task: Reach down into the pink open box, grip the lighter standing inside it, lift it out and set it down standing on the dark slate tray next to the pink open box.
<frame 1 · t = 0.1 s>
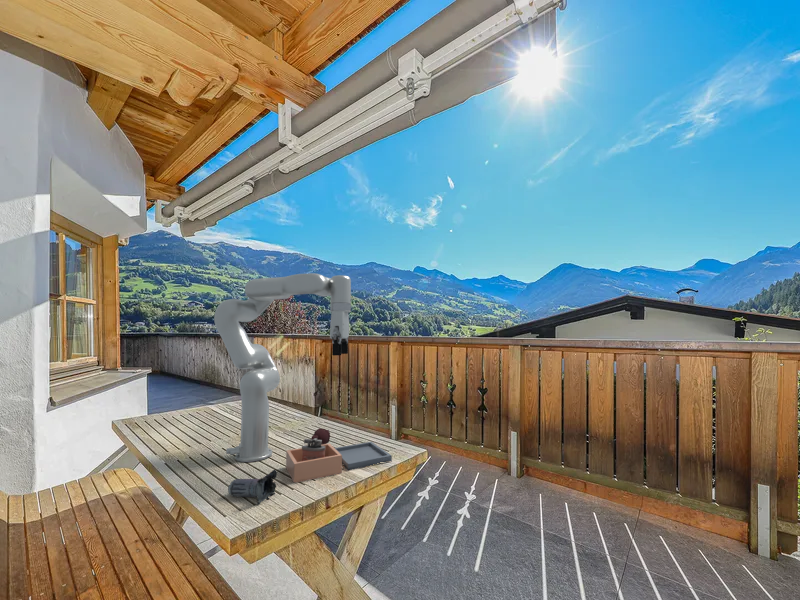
hand: (340, 354, 126), 37 cm above the table, tool pointing down, fingers open, 9 cm apart
dark piece: (250, 498, 94), on the table
icecream: (321, 446, 138), on the table
lighter: (313, 470, 112), resting in pink open box
tray: (360, 457, 123), on the table
pink open box: (313, 470, 112), on the table
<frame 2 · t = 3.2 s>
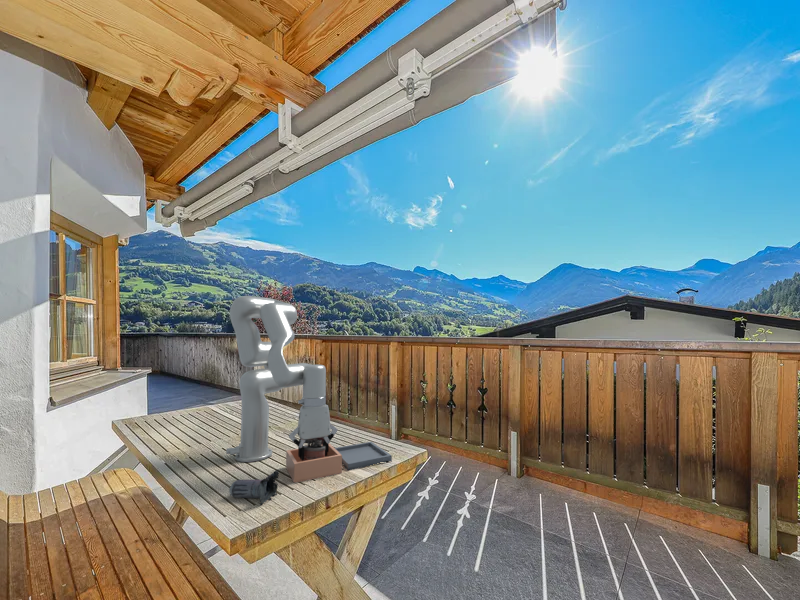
hand: (313, 456, 113), 4 cm above the table, tool pointing down, fingers closed on lighter, 7 cm apart
lighter: (313, 470, 112), resting in pink open box, touching gripper
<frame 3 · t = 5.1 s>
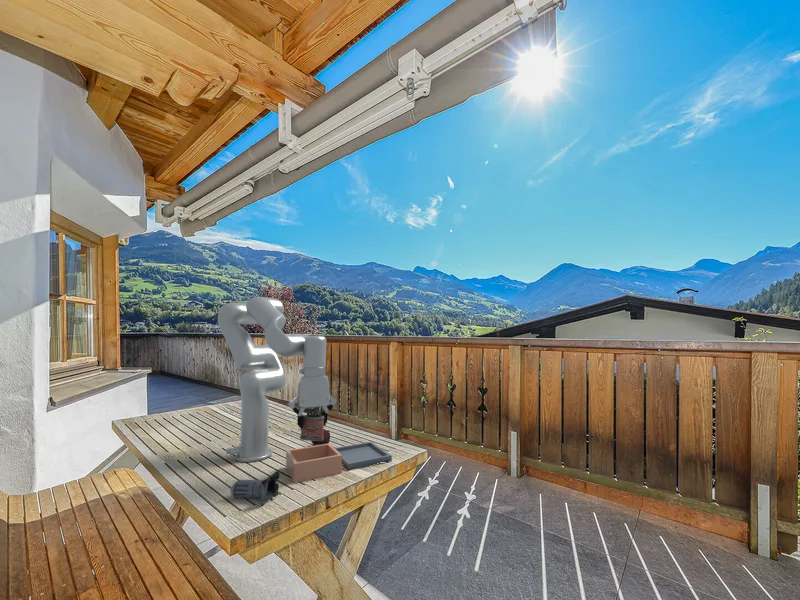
hand: (312, 425, 114), 14 cm above the table, tool pointing down, fingers closed on lighter, 7 cm apart
lighter: (311, 439, 114), point 10 cm above the table, touching gripper
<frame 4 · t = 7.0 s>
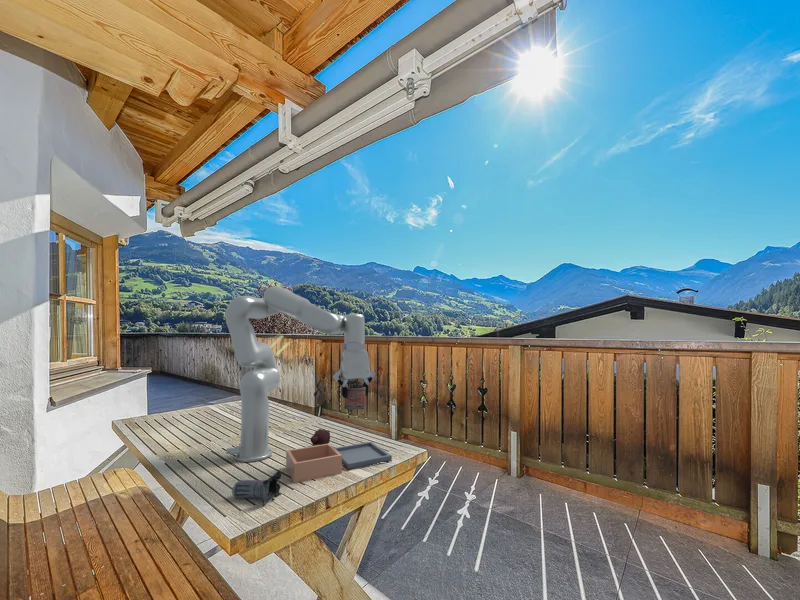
hand: (355, 396, 124), 22 cm above the table, tool pointing down, fingers closed on lighter, 7 cm apart
lighter: (355, 409, 124), point 18 cm above the table, touching gripper
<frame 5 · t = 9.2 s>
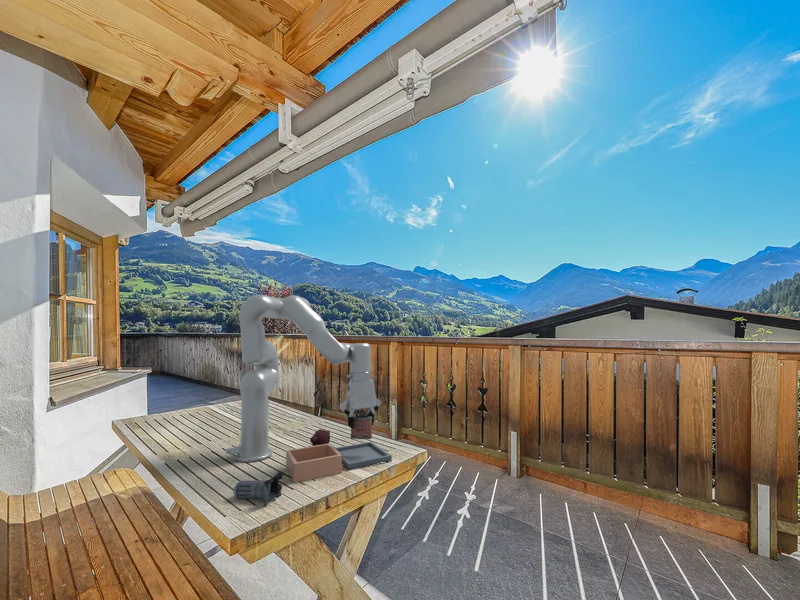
hand: (361, 425, 125), 11 cm above the table, tool pointing down, fingers closed on lighter, 7 cm apart
lighter: (361, 438, 124), point 7 cm above the table, touching gripper
when the fingers open (6 cm above the table, at t = 10.7 s): lighter drops 1 cm, resting on tray.
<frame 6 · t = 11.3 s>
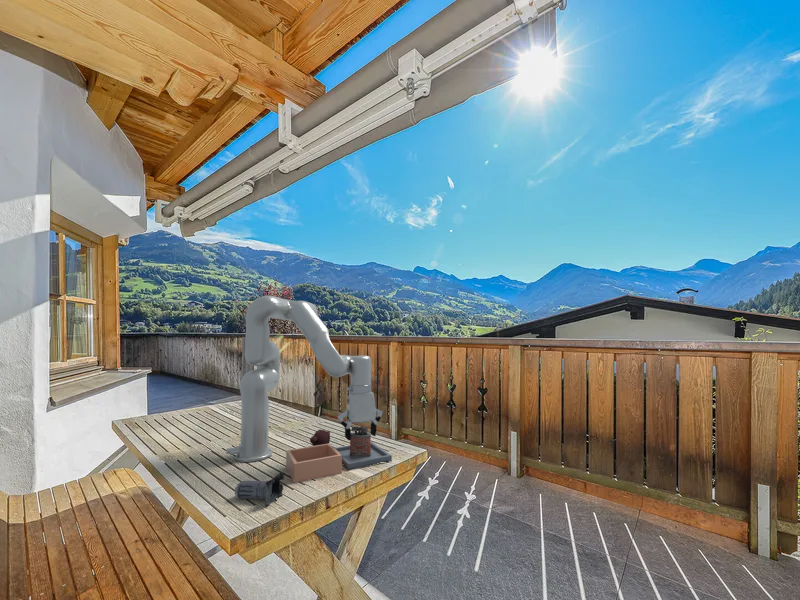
hand: (360, 437, 124), 7 cm above the table, tool pointing down, fingers open, 9 cm apart
lighter: (360, 455, 124), point 1 cm above the table, touching tray
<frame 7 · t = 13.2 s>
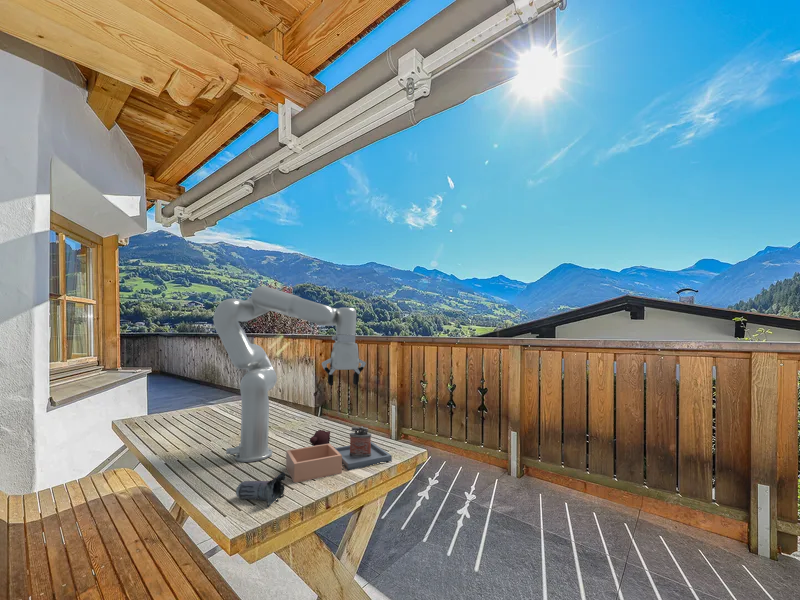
hand: (343, 384, 130), 25 cm above the table, tool pointing down, fingers open, 9 cm apart
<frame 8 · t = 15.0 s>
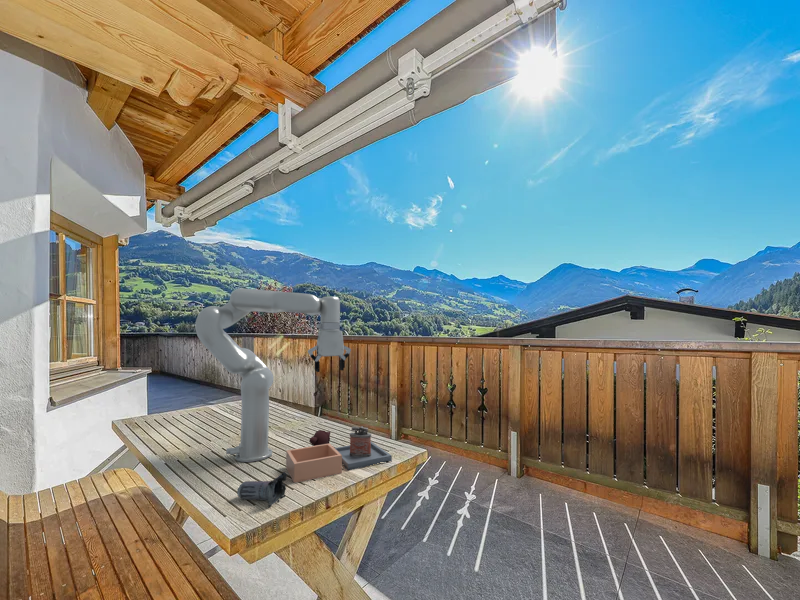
hand: (329, 370, 134), 30 cm above the table, tool pointing down, fingers open, 9 cm apart
at the end: lighter inside the target area on the tray (0.2 cm from its centre), point 0.6 cm above the tray's base; the gripper is holding nothing; lighter moved 18.1 cm from its start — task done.
